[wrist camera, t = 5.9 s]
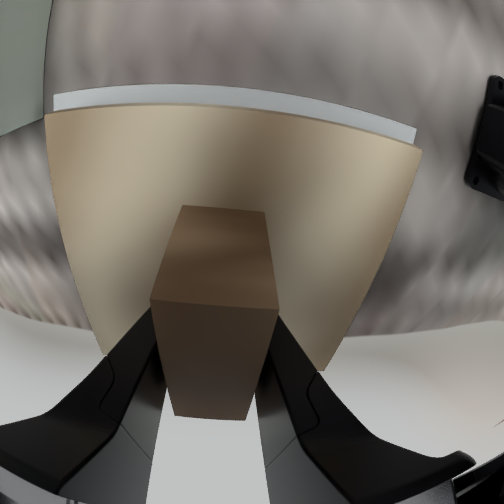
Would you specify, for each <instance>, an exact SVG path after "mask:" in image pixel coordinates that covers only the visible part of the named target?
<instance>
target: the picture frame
mask: <svg viewBox="0 0 504 504" xmlns="http://www.w3.org/2000/svg"><path fill="white" fill-rule="evenodd" d="M124 103H199V104H216V105H228V106H239V107H248V108H257V109H265V110H272V111H279V112H285V113H291V114H297V115H303V116H308V117H313V118H318V119H323V120H328V121H332V122H337V123H341V124H345V125H350V126H354V127H358V128H361V129H365V130H369V131H372V132H376V133H380V134H383V135H386V136H390V137H393V138H396V139H399V140H402V141H405V142H408V143H411V144H413V142H414V138H415V134H416V130H417V129H415V128H413V127H411V126H408V125H405V124H403V123H400V122H397V121H394V120H391V119H388V118H385V117H382V116H378V115H375V114H372V113H368V112H365V111H361V110H358V109H354V108H350V107H347V106H343V105H339V104H334V103H330V102H326V101H321V100H317V99H312V98H307V97H302V96H297V95H291V94H285V93H279V92H272V91H265V90H258V89H249V88H240V87H229V86H216V85H198V84H141V85H123V86H111V87H101V88H92V89H84V90H77V91H70V92H64V93H59V94H55V95H54V111H57V110H62V109H69V108H77V107H86V106H96V105H108V104H124Z"/></svg>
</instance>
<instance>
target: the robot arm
mask: <svg viewBox="0 0 504 504" xmlns="http://www.w3.org/2000/svg"><path fill="white" fill-rule="evenodd" d="M473 179H474V180H473ZM465 180H466V184H467V185H468V186H470V187H471V188H472V189H475V190H477V191H480V192H482V193H485V194H487V195H490V196H492V197H494V198H497V199H499V200H501V201H504V79H503V78H502V77H500V76H496V75H492V76H491V78H490V83H489V89H488V94H487V100H486V105H485V109H484V114H483V118H482V122H481V127H480V130H479V134H478V138H477V142H476V145H475V149H474V152H473V155H472V159H471V162H470V165H469V168H468V171H467V174H466V178H465ZM166 389H167V384H166V380H165V376H164V372H163V368H162V363H161V359H160V354H159V349H158V344H157V339H156V334H155V329H154V323H153V318H152V312H151V306H150V307H149V308H148V309H147V310H146V312H145V313H144V314H143V315H142V316H141V317H140V318H139V319H138V320H137V321H136V323H135V324H134V325H133V326H132V327H131V328H130V329H129V330H128V331H127V333H126V334H125V335H124V336H123V337H122V338H121V339H120V340H119V341H118V343H117V344H116V345H115V346H114V347H113V348H112V349H111V351H110V352H109V353H108V354H107V356H105V357H104V358H103V360H102V361H101V362H100V363H99V364H98V365H97V367H95V368H94V370H93V371H92V372H91V373H90V374H89V375H88V376H87V377H86V378H85V379H84V380H83V381H82V382H81V383H80V384H79V385H77V386H76V387H75V388H74V389H73V390H72V391H71V392H70V393H69V394H68V395H67V396H65V397H64V398H63V399H62V400H61V401H60V402H59V403H58V404H57V405H56V406H55V407H53V408H52V409H51V410H49V411H48V412H46V413H44V414H42V415H40V416H37V417H33V418H29V419H26V420H21V421H17V422H14V423H9V424H5V425H1V426H0V504H146V497H147V491H148V484H149V478H150V472H151V466H152V460H153V454H154V449H155V443H156V438H157V433H158V427H159V423H160V418H161V413H162V407H163V403H164V398H165V393H166ZM255 399H256V407H257V414H258V421H259V429H260V436H261V444H262V451H263V458H264V465H265V468H266V469H265V472H266V479H267V486H268V493H269V499H270V504H504V452H503V453H501V454H500V455H498V456H496V457H495V458H493V459H491V460H490V461H488V462H486V463H484V464H482V465H480V466H479V467H477V468H475V469H473V470H471V471H469V472H467V473H465V474H463V475H460V476H458V477H456V476H457V475H459V474H461V473H463V472H464V471H466V470H468V469H470V468H471V467H473V466H474V465H475V464H476V462H475V460H474V459H473V458H472V457H471V456H469V455H468V454H466V453H463V452H462V451H456V452H454V453H452V454H450V455H447V456H445V457H439V458H435V457H429V456H425V455H422V454H419V453H416V452H413V451H411V450H407V449H405V448H402V447H400V446H397V445H394V444H391V443H389V442H387V441H384V440H382V439H380V438H378V437H376V436H375V435H374V434H372V433H371V432H370V431H369V430H368V429H367V428H366V427H365V426H364V425H363V424H362V423H361V422H360V421H359V420H358V419H357V418H356V417H355V416H354V415H353V413H352V412H351V411H350V410H349V409H348V408H347V407H346V406H345V405H344V404H343V403H342V401H341V400H340V399H339V398H338V397H337V396H336V395H335V393H334V392H333V391H332V390H331V388H330V387H329V386H328V384H327V383H326V382H325V380H324V379H323V377H322V376H321V375H320V373H319V372H317V369H316V368H315V366H314V365H313V363H312V362H311V360H310V359H309V358H308V356H307V355H306V353H305V352H304V350H303V349H302V348H301V346H300V345H299V343H298V342H297V340H296V339H295V337H294V336H293V335H292V333H291V332H290V330H289V329H288V327H287V326H286V325H285V323H284V322H283V320H282V319H281V317H280V316H279V314H278V317H277V320H276V324H275V327H274V331H273V334H272V338H271V341H270V344H269V348H268V351H267V354H266V357H265V361H264V364H263V367H262V370H261V374H260V377H259V380H258V383H257V386H256V389H255ZM454 477H456V478H454ZM452 478H454V479H452Z"/></svg>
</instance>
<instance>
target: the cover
mask: <svg viewBox="0 0 504 504" xmlns="http://www.w3.org/2000/svg"><path fill="white" fill-rule="evenodd" d="M45 132H46V144H47V155H48V163H49V171H50V178H51V185H52V191H53V197H54V202H55V207H56V212H57V217H58V222H59V226H60V230H61V235H62V239H63V243H64V246H65V250H66V254H67V257H68V261H69V264H70V268H71V271H72V274H73V277H74V281H75V284H76V287H77V290H78V293H79V296H80V298H81V301H82V304H83V307H84V309H85V312H86V315H87V317H88V320H89V322H90V325H91V327H92V330H93V332H94V335H95V337H96V339H97V342H98V344H99V346H100V348H101V351H102V353H103V354H104V355H107V354H108V353H109V352H110V351H111V349H112V348H113V347H114V346H115V345H116V344H117V343H118V341H119V340H120V339H121V338H122V337H123V336H124V335H125V334H126V333H127V331H128V330H129V329H130V328H131V327H132V326H133V325H134V324H135V323H136V321H137V320H138V319H139V318H140V317H141V316H142V315H143V314H144V313H145V312H146V310H147V309H148V308H149V307H150V306H151V312H152V318H153V323H154V329H155V334H156V339H157V344H158V349H159V354H160V359H161V363H162V368H163V372H164V376H165V380H166V384H167V388H168V392H169V396H170V400H171V404H172V407H173V411H174V415H175V416H183V417H193V418H204V419H218V420H219V419H220V420H245V419H246V416H247V414H248V411H249V408H250V405H251V402H252V398H253V395H254V392H255V389H256V386H257V383H258V380H259V377H260V374H261V370H262V367H263V364H264V361H265V357H266V354H267V351H268V348H269V344H270V341H271V338H272V334H273V331H274V327H275V324H276V320H277V317H278V314H279V316H280V317H281V319H282V320H283V322H284V323H285V325H286V326H287V327H288V329H289V330H290V332H291V333H292V335H293V336H294V337H295V339H296V340H297V342H298V343H299V345H300V346H301V348H302V349H303V350H304V352H305V353H306V355H307V356H308V358H309V359H310V360H311V362H312V363H313V365H314V366H315V368H316V369H317V371H324V370H325V368H326V367H327V365H328V363H329V362H330V360H331V358H332V357H333V355H334V353H335V352H336V350H337V348H338V346H339V345H340V343H341V341H342V339H343V338H344V336H345V334H346V332H347V330H348V329H349V327H350V325H351V323H352V321H353V319H354V318H355V316H356V314H357V312H358V310H359V308H360V306H361V304H362V302H363V300H364V298H365V296H366V294H367V292H368V290H369V288H370V286H371V284H372V282H373V280H374V278H375V275H376V273H377V271H378V269H379V267H380V265H381V262H382V260H383V258H384V256H385V253H386V251H387V249H388V246H389V244H390V242H391V239H392V237H393V234H394V232H395V229H396V227H397V224H398V222H399V219H400V217H401V214H402V212H403V209H404V206H405V204H406V201H407V198H408V195H409V192H410V189H411V187H412V184H413V181H414V178H415V175H416V172H417V168H418V165H419V162H420V159H421V155H422V152H423V150H422V149H420V148H418V147H417V146H415V145H413V144H411V143H408V142H405V141H402V140H399V139H396V138H393V137H390V136H386V135H383V134H380V133H376V132H372V131H369V130H365V129H361V128H358V127H354V126H350V125H345V124H341V123H337V122H332V121H328V120H323V119H318V118H313V117H308V116H303V115H297V114H291V113H285V112H279V111H272V110H265V109H257V108H248V107H239V106H228V105H216V104H199V103H124V104H108V105H96V106H86V107H77V108H69V109H62V110H57V111H54V112H51V113H48V114H45Z"/></svg>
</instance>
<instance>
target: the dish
mask: <svg viewBox="0 0 504 504" xmlns="http://www.w3.org/2000/svg"><path fill="white" fill-rule="evenodd" d="M52 1H53V0H0V136H2V135H4V134H6V133H8V132H11V131H13V130H15V129H17V128H19V127H22V126H24V125H26V124H29V123H31V122H34V121H36V120H39V119H41V118H44V113H43V79H44V59H45V48H46V38H47V30H48V23H49V17H50V11H51V6H52Z"/></svg>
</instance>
